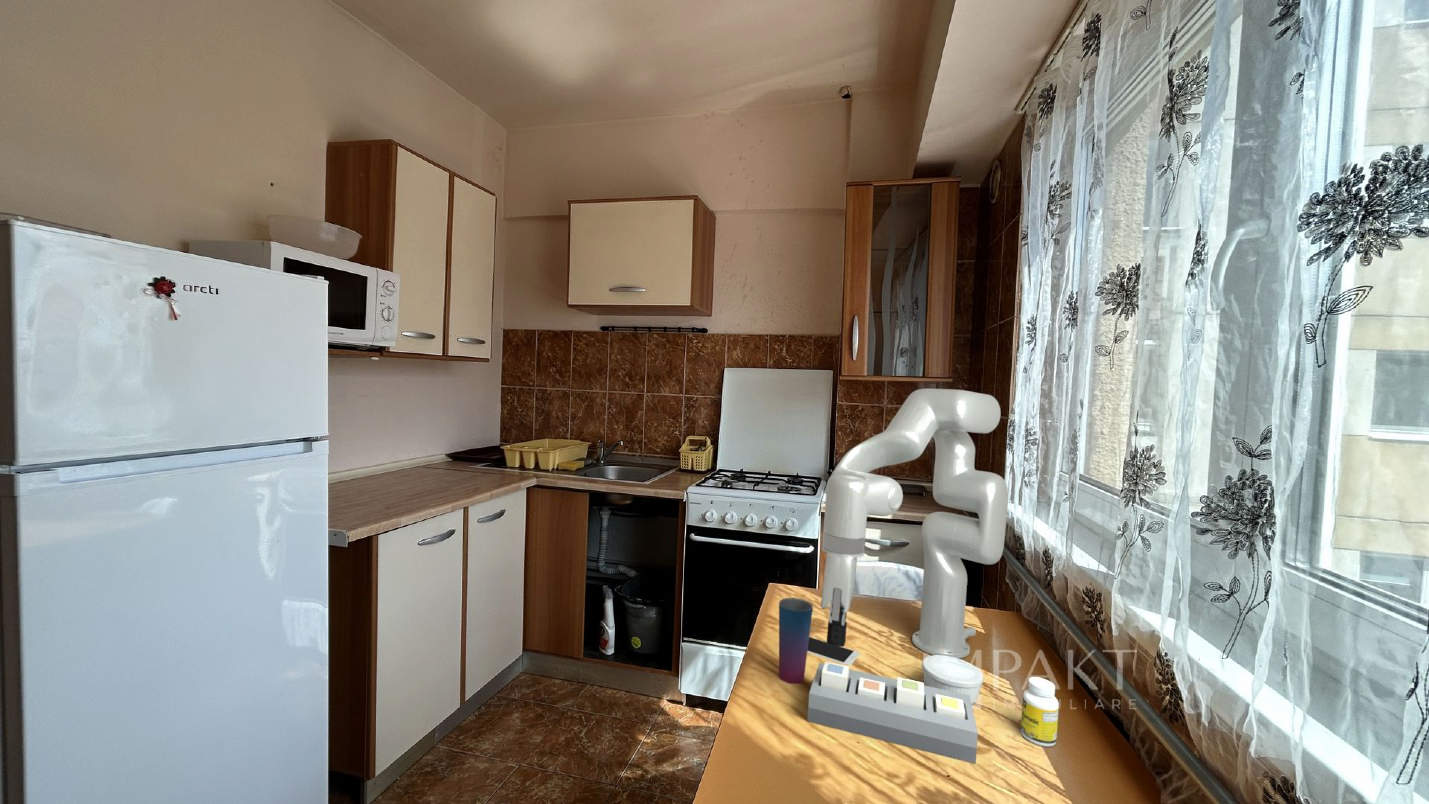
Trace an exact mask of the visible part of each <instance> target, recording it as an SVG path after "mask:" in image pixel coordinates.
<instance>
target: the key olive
mask: <svg viewBox="0 0 1429 804" xmlns="http://www.w3.org/2000/svg"><path fill="white" fill-rule="evenodd" d="M896 680H897V697H896V704H901V705H905V706H909V707H914V708H918V709H922V710H923V708H924V686H925V684H924V681H923V682H921V681H916V680H913V679H907V678H904V677H901V676H900V677H899V676H897V679H896Z"/></svg>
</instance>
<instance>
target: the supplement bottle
mask: <svg viewBox="0 0 1429 804" xmlns="http://www.w3.org/2000/svg"><path fill="white" fill-rule="evenodd" d="M1027 685H1028V686H1027V688H1028V689H1025V690H1024V691H1023V692H1022V693H1023V694H1022V705H1021V707H1022V708H1021V721H1020V733H1021V735H1022V736H1023V738H1025V740H1027V741H1029V742H1031V743H1032V744H1035V745H1037V746H1040V747H1044V748H1045V747H1054V746H1055V745H1056V743H1057V737H1058V725H1059V724H1058V723H1059V722H1058V721H1059V709H1060V706H1059V705H1060V704H1059V700H1058V699H1057V697H1056V696H1055V693H1056V686H1055V684H1054V683H1053V682H1051V681H1050V680H1048V679H1045V678H1042V677H1040V676H1039V677H1038V676H1031V677H1029V678H1028V684H1027Z"/></svg>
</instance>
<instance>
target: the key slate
mask: <svg viewBox="0 0 1429 804" xmlns="http://www.w3.org/2000/svg"><path fill="white" fill-rule="evenodd" d="M823 664H824V667H823V671H822V679H821V686H822V687H827V688H831V689H835V690H840V691H844V692H846V690H847V685H848V676H849V669H850V666H847V665H844V664H840V663H833V662H829V661H824V663H823Z"/></svg>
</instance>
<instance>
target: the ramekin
mask: <svg viewBox="0 0 1429 804" xmlns="http://www.w3.org/2000/svg"><path fill="white" fill-rule="evenodd" d="M921 667H922V672H923V683H924V686H929V687H933V688H938V689H943V690H947V691H952V692H956V693H961V694H966V695H970V699H971V704H972V705H974V703H976V702H977V700H978V698H979V694H980V691H981V688H982V684H983V683H984V674H983V672H982V671H981V670H980V669H979V668H978V666H976V665H974V664H971V663H970V662H968V661H966V660H963V659H962V658H954V657H950V656H943V655H932V654H931V655H929V656H928V655H927V656H926V657H924V658H923V660H922V662H921Z"/></svg>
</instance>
